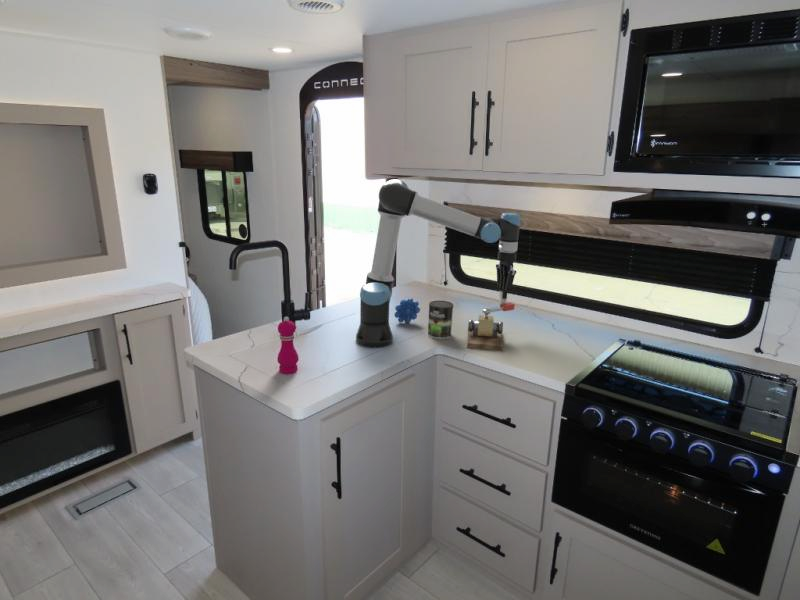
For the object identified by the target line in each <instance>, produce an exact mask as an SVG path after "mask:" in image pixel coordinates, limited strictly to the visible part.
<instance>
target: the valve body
mask: <svg viewBox="0 0 800 600" xmlns="http://www.w3.org/2000/svg"><path fill="white" fill-rule="evenodd" d="M494 321H495V320H494V315H489V314H484V313H483V314H479V315H478V320H473V319H468V326H467V332H468V331H469V332H472V331H473V337H477V336H491V337H492V338H497V333H498V334H501V335H503V331H504V330H503V329H504V322H503V321H498V322H494Z"/></svg>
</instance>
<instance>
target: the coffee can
mask: <svg viewBox="0 0 800 600" xmlns="http://www.w3.org/2000/svg"><path fill="white" fill-rule="evenodd" d="M453 310H454V304H453V302H451V301H447V300H432V301H429V304H428V324H427V325H428V326H427V336H428V337H429V338H432V339H436V340H447V339H450V338H451V337H452V325H453V312H454V311H453Z"/></svg>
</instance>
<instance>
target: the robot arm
mask: <svg viewBox="0 0 800 600" xmlns="http://www.w3.org/2000/svg"><path fill="white" fill-rule="evenodd" d="M378 200H379V201H378V207H377V213H378V214H379V215H380V218H379V222H378V230H377V235H376V242H375V246H374V254H373V259H372V265H371V271H370V272H368V273H367V275H366V281H365V284H364V285H362V286H361V288H360V291H359V297H360V308H359V309H360V314H359V315H360V317H359V320H360V321H359V326H358V330H357V332H356V335H355V342H356V343H357V344H358V345H359V346H362V347H365V348H372V349H373V348H384V347H389V346H390V345H392V344H393V341H394V340H393V339H394V336H393V333H392V332H393V331H392V329H391V327H390V302H391V299H392V295H393V288H394V281H395V277H393V275H392V271H393V268H394V261H395V255H396V252H397V244H398V239H399V233H400V227H401V221H402V219H403V218H405V217H406V216H407V217H410V216H415V217H418V218H421V219H424V220H427V221H429V222H432V223H435V224H437V225H441V226H443V227H446V228H449V229H452V230H455V231H457V232H460V233H464V234H467V235H469V236H471V237H472V236H473V237H474V238H476V239H477V238H478V239H480V240H482V241H483V242H485V243H487V244H488V243H490V244H493V243H496V242H497V241H499V243H498V250H499V251H498V252H497V260H498V261H499V263H497V264H495V269H496V285H497V286H496V287H497V288H498V289H499V298H498V307H500V304H504V303H507V299H508V292H511V291H512V287H513V283H514V279H515V276H516V274H517V270H515V269H514V262H516V261H517V257H518V256H517V254H518V253H517V251H518V248H519V247H518V244H519V234H520V227H521V215H519V214H518V213H515V212H504V213H502V214H501V216H500V217H485V216H484V217H482V216H476V215H473V214H471V213H468V212H465V211H462V210H460V209H457V208H455V207H451V206H448V205H446V204H443V203H441V202H438V201H435V200H432V199H430V198H427V197H423V196H421V195H419V193H418V192H417V191H415V190H412V189H410V188H409V186H408V185H407V184H406V182H405V181H402V180H400V179H396V178H395V179H389V180H388V181H386V182H385V183H383V185H382V186H380V189H379V193H378Z"/></svg>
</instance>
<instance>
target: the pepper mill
mask: <svg viewBox="0 0 800 600" xmlns="http://www.w3.org/2000/svg"><path fill="white" fill-rule="evenodd" d="M296 330H297V328H296V324H295V323H294V321H291V320H290V318H289V317H288V316H284V317H283V321H281V322H279V324H278V326H277V331H278V333H279V340H280V343H281V344H280V345H281V346H280V350H279V352H278V354H277V359H276V360H277V364H279V368H278V370H279V372H280V373H281V374H283V375H290V374H294V373H296V372H298V370H299V369H298V364H297V363H298V362H299V360H300V359H299V358H300V357H299V355H298V352H297V349H296V348H295V346H294V339H295V332H296Z"/></svg>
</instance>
